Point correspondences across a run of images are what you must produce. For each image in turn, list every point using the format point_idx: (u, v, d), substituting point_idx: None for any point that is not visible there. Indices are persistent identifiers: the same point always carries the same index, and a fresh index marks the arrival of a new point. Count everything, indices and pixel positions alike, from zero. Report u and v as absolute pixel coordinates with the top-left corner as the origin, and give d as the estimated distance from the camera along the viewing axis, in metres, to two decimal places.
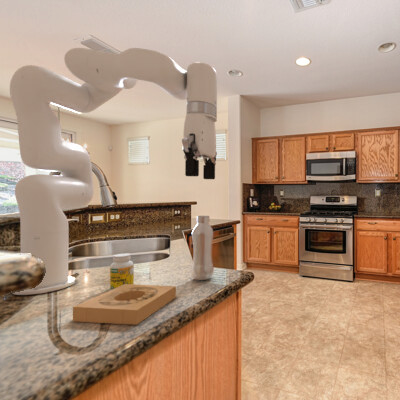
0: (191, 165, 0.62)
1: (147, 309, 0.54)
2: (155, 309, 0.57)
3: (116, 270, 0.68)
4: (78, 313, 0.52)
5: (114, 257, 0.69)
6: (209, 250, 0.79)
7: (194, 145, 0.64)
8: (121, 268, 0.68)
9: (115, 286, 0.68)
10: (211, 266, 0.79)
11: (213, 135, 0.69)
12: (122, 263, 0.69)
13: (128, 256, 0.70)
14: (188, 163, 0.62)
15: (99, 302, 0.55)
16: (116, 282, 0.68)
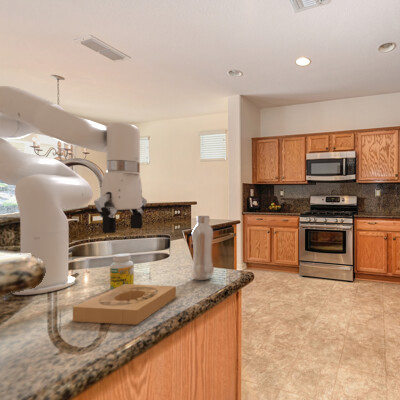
0: (107, 223, 0.64)
1: (147, 309, 0.54)
2: (155, 309, 0.57)
3: (116, 270, 0.68)
4: (78, 313, 0.52)
5: (114, 257, 0.69)
6: (209, 250, 0.79)
7: (113, 202, 0.67)
8: (121, 268, 0.68)
9: (115, 286, 0.68)
10: (211, 266, 0.79)
11: (136, 188, 0.72)
12: (122, 263, 0.69)
13: (128, 256, 0.70)
14: (104, 221, 0.64)
15: (99, 302, 0.55)
16: (116, 282, 0.68)
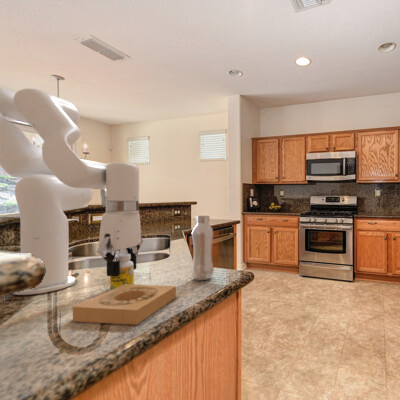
0: (111, 267, 0.66)
1: (147, 309, 0.54)
2: (155, 309, 0.57)
3: None
4: (78, 313, 0.52)
5: None
6: (209, 250, 0.79)
7: None
8: (121, 268, 0.68)
9: (115, 286, 0.68)
10: (211, 266, 0.79)
11: (135, 226, 0.72)
12: (122, 263, 0.69)
13: (128, 256, 0.70)
14: (108, 265, 0.66)
15: (99, 302, 0.55)
16: (116, 282, 0.68)
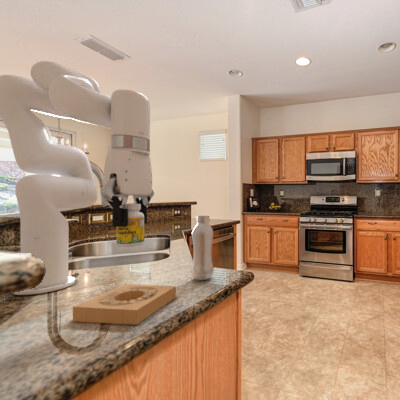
0: (118, 215, 0.55)
1: (147, 309, 0.54)
2: (155, 309, 0.57)
3: None
4: (78, 313, 0.52)
5: None
6: (209, 250, 0.79)
7: None
8: (130, 217, 0.57)
9: (123, 239, 0.56)
10: (211, 266, 0.79)
11: (146, 171, 0.60)
12: (131, 212, 0.57)
13: (138, 205, 0.58)
14: (114, 212, 0.55)
15: (99, 302, 0.55)
16: (124, 234, 0.56)
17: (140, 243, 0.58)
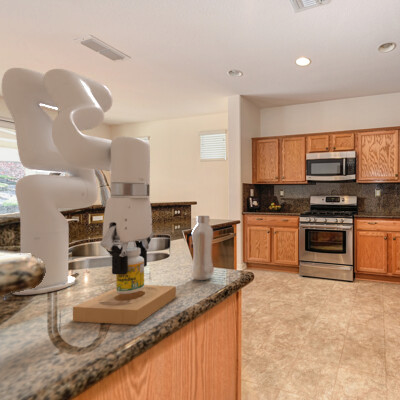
0: (117, 263, 0.54)
1: (147, 309, 0.54)
2: (155, 309, 0.57)
3: None
4: (78, 313, 0.52)
5: None
6: (209, 250, 0.79)
7: None
8: (130, 264, 0.56)
9: (122, 286, 0.56)
10: (211, 266, 0.79)
11: (146, 214, 0.60)
12: (131, 258, 0.57)
13: (138, 250, 0.58)
14: (114, 261, 0.55)
15: (99, 302, 0.55)
16: (124, 281, 0.56)
17: (140, 288, 0.58)
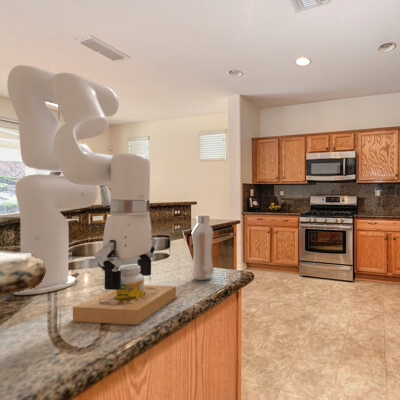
0: (110, 278, 0.53)
1: (147, 309, 0.54)
2: (155, 309, 0.57)
3: (124, 286, 0.56)
4: (78, 313, 0.52)
5: (121, 270, 0.57)
6: (209, 250, 0.79)
7: None
8: (130, 283, 0.56)
9: None
10: (211, 266, 0.79)
11: (145, 230, 0.60)
12: (130, 277, 0.57)
13: (137, 268, 0.58)
14: (107, 276, 0.53)
15: (99, 302, 0.55)
16: (124, 300, 0.56)
17: None
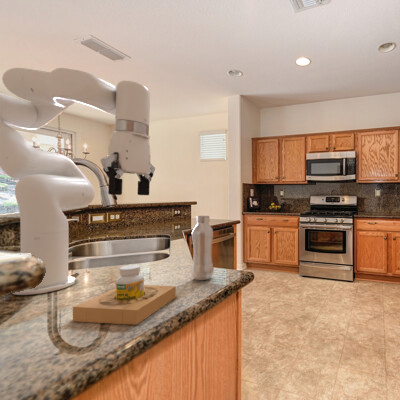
0: (113, 184, 0.62)
1: (147, 309, 0.54)
2: (155, 309, 0.57)
3: (124, 286, 0.56)
4: (78, 313, 0.52)
5: (121, 270, 0.57)
6: (209, 250, 0.79)
7: (120, 164, 0.64)
8: (130, 283, 0.56)
9: None
10: (211, 266, 0.79)
11: (145, 152, 0.69)
12: (130, 277, 0.57)
13: (137, 268, 0.58)
14: (110, 182, 0.62)
15: (99, 302, 0.55)
16: (124, 300, 0.56)
17: None
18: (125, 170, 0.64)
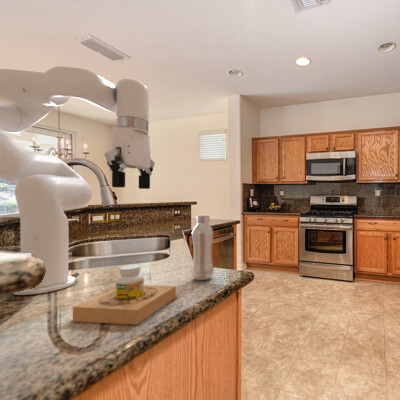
0: (116, 177, 0.65)
1: (147, 309, 0.54)
2: (155, 309, 0.57)
3: (124, 286, 0.56)
4: (78, 313, 0.52)
5: (121, 270, 0.57)
6: (209, 250, 0.79)
7: (122, 158, 0.68)
8: (130, 283, 0.56)
9: None
10: (211, 266, 0.79)
11: (145, 147, 0.73)
12: (130, 277, 0.57)
13: (137, 268, 0.58)
14: (114, 175, 0.65)
15: (99, 302, 0.55)
16: (124, 300, 0.56)
17: None
18: (127, 164, 0.67)
